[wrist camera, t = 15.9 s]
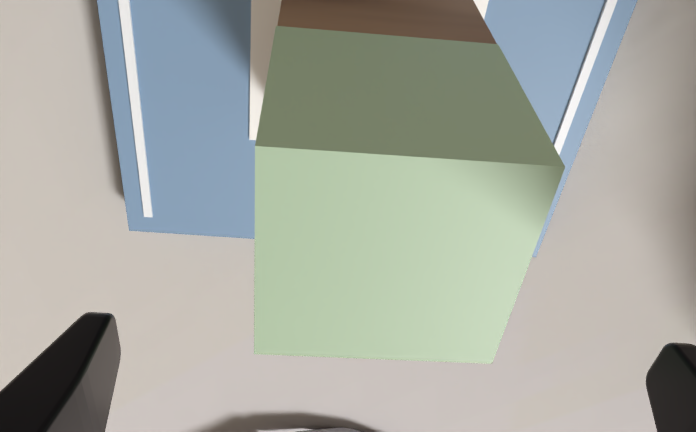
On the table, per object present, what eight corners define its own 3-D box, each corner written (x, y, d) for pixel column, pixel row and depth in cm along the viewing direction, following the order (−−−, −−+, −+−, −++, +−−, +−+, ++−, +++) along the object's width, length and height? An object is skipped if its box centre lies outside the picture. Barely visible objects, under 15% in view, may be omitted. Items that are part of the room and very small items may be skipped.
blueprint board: (528, 237, 26) (536, 258, 25) (136, 211, 24) (128, 232, 23) (704, -231, 16) (729, -228, 15) (69, -320, 15) (50, -324, 14)
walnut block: (428, 128, 21) (451, 219, 17) (280, 115, 21) (269, 206, 17) (461, -23, 18) (498, 47, 14) (288, -41, 18) (277, 26, 14)
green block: (453, 217, 17) (492, 363, 13) (271, 206, 17) (253, 354, 13) (498, 43, 14) (565, 166, 10) (275, 25, 14) (254, 146, 10)
